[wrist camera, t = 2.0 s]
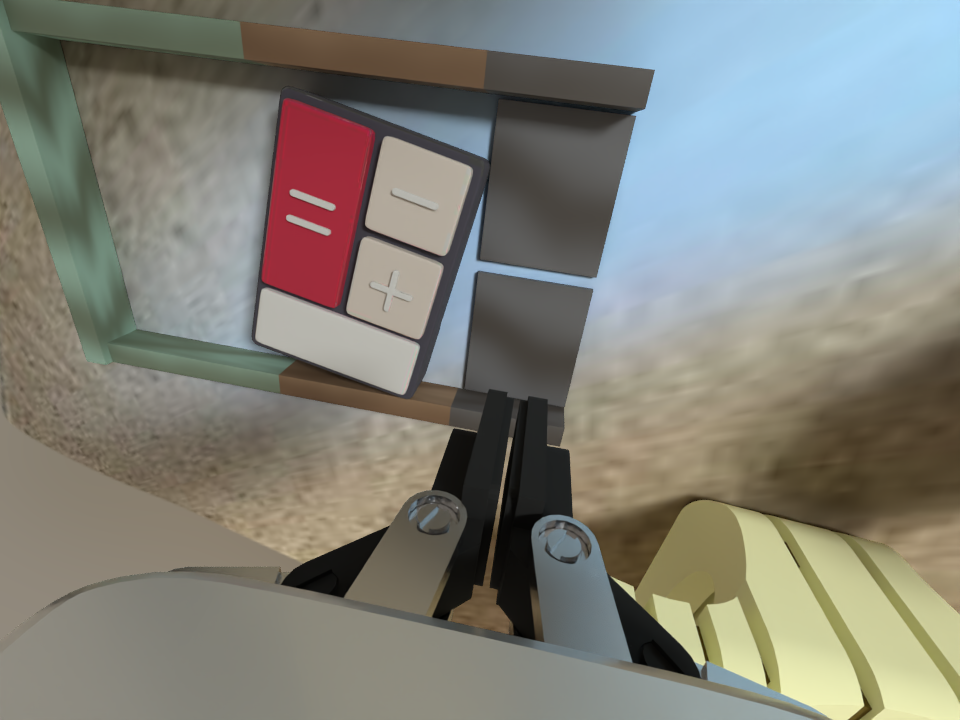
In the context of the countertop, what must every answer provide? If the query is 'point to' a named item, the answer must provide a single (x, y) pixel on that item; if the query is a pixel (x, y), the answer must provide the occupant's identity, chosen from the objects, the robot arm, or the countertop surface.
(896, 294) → the countertop surface
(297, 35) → the channel
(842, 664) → the slatted curved stool
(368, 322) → the calculator
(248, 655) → the robot arm
